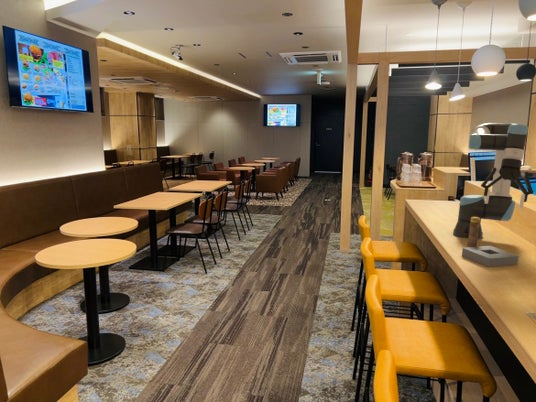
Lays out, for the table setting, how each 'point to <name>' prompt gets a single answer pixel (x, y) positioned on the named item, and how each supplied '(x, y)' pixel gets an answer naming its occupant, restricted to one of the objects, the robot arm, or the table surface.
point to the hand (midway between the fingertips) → (503, 206)
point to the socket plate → (490, 256)
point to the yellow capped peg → (473, 232)
